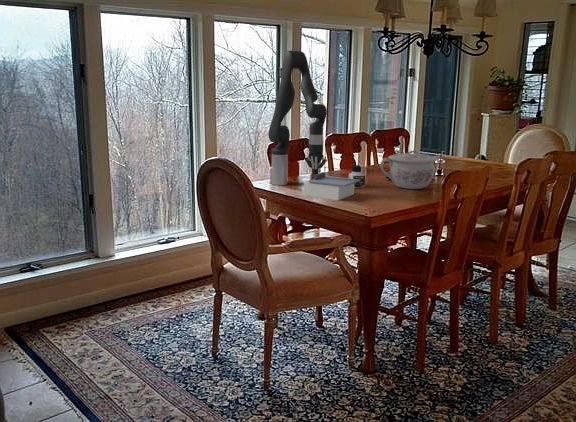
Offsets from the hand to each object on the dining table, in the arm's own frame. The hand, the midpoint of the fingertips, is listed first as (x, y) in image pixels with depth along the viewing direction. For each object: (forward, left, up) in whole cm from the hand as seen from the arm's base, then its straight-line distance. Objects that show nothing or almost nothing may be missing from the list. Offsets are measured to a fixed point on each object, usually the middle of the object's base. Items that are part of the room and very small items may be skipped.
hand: (315, 176), depth 292 cm
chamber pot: (+36, +45, -9) cm, 59 cm away
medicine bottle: (+10, +29, -9) cm, 32 cm away
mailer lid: (+11, 0, -2) cm, 11 cm away
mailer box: (+8, 0, -9) cm, 12 cm away
